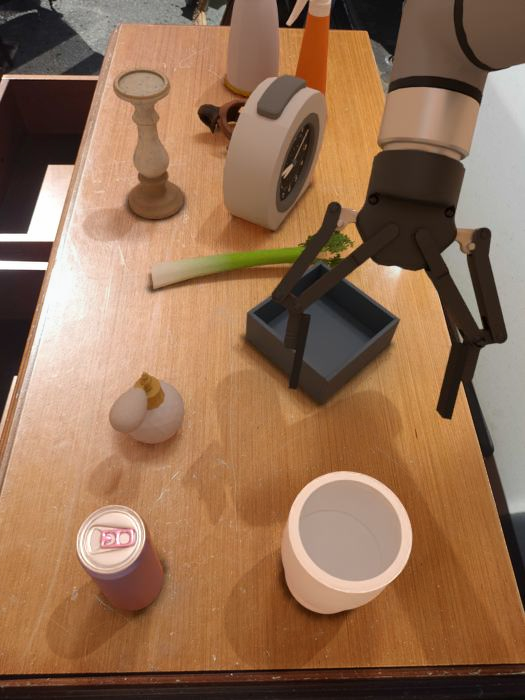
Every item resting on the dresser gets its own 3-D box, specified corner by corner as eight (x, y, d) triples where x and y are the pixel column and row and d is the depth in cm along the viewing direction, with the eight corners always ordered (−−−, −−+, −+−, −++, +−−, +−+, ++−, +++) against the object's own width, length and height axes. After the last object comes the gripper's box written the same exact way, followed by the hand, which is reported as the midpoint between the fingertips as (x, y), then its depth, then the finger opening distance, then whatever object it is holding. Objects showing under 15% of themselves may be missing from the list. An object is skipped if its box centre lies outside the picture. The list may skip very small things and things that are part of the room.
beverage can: (163, 610, 56) (146, 573, 44) (102, 614, 56) (68, 578, 43) (164, 549, 60) (149, 500, 47) (108, 553, 59) (77, 503, 47)
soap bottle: (285, 73, 116) (298, -78, 95) (273, 103, 110) (285, -52, 88) (232, 64, 117) (234, -88, 96) (217, 93, 110) (216, -63, 89)
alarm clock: (263, 246, 87) (272, 133, 70) (221, 229, 88) (221, 114, 72) (318, 171, 98) (337, 59, 82) (280, 158, 100) (291, 45, 83)
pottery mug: (260, 124, 106) (271, 101, 98) (250, 170, 104) (262, 150, 97) (198, 104, 103) (205, 79, 95) (188, 151, 102) (194, 129, 94)
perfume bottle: (186, 396, 71) (180, 341, 61) (186, 469, 65) (179, 420, 55) (126, 399, 70) (109, 343, 60) (121, 472, 64) (102, 424, 54)
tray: (390, 344, 77) (400, 319, 73) (321, 404, 71) (328, 381, 66) (315, 286, 82) (320, 259, 78) (245, 337, 76) (246, 312, 72)
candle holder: (124, 188, 93) (103, 68, 76) (176, 180, 94) (166, 61, 78) (134, 224, 88) (113, 103, 71) (189, 214, 90) (181, 95, 73)
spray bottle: (265, 121, 106) (275, -37, 84) (305, 102, 110) (325, -53, 89) (291, 139, 103) (308, -20, 82) (331, 118, 108) (358, -37, 86)
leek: (153, 271, 85) (345, 242, 87) (157, 310, 82) (356, 279, 84) (145, 246, 79) (350, 217, 82) (150, 287, 76) (362, 255, 78)
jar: (359, 516, 63) (391, 462, 51) (386, 615, 57) (430, 581, 45) (266, 531, 61) (277, 479, 49) (284, 634, 56) (301, 604, 43)
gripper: (553, 187, 49) (494, 415, 53) (276, 141, 51) (237, 366, 54) (595, 175, 42) (523, 440, 46) (269, 121, 43) (225, 383, 47)
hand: (367, 400), depth 50 cm, fingers open, 13 cm apart
